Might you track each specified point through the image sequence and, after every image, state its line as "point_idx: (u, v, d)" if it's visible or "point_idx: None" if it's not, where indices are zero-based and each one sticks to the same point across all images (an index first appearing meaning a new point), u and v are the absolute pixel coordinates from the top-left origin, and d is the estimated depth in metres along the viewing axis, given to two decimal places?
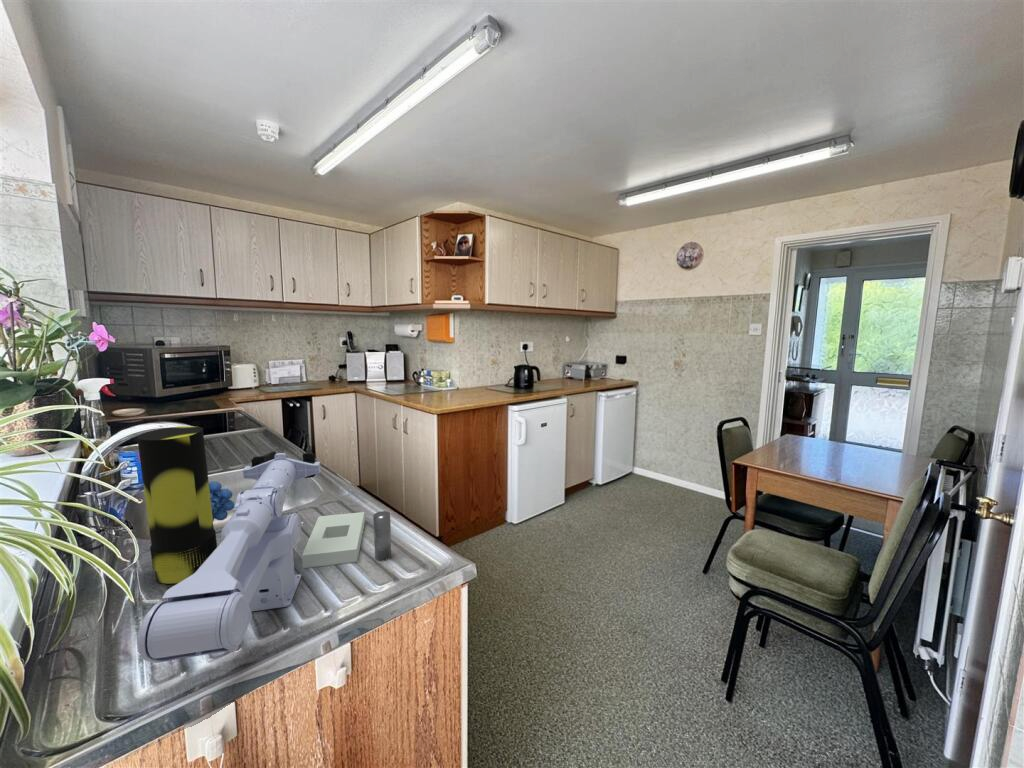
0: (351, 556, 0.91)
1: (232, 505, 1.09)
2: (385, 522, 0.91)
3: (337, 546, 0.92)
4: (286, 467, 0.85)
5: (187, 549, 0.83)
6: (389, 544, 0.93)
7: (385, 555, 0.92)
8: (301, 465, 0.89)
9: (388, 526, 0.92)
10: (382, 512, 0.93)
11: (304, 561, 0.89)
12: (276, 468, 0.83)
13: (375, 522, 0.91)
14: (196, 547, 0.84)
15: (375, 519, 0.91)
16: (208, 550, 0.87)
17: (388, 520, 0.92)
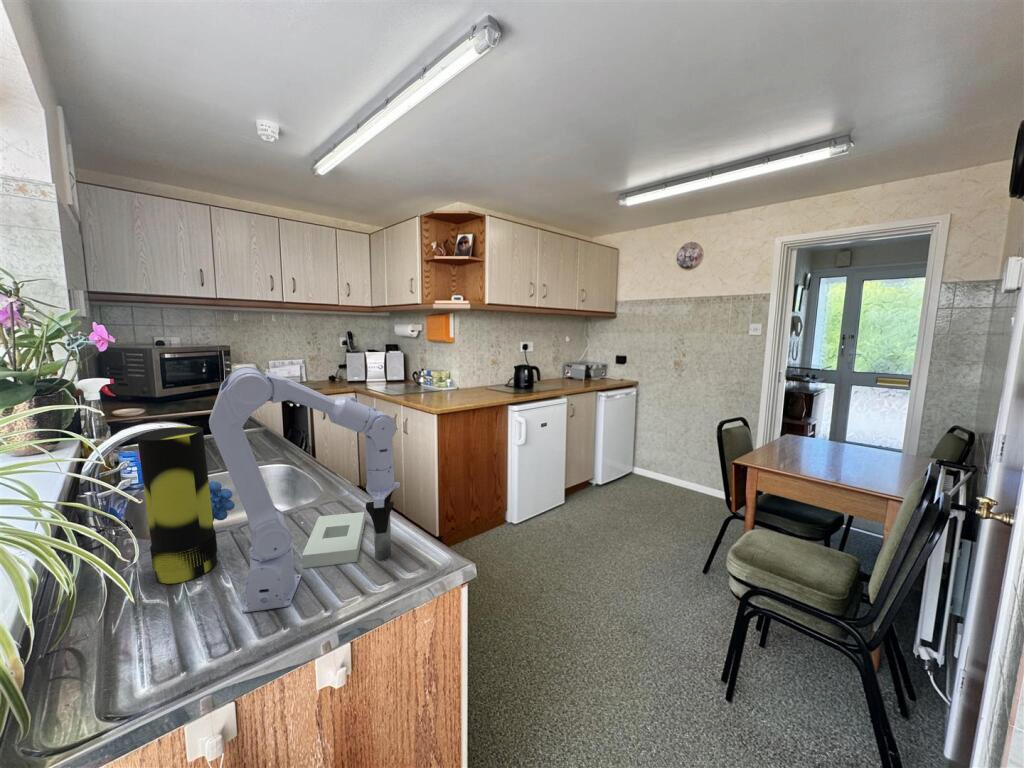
0: (351, 556, 0.91)
1: (232, 505, 1.09)
2: None
3: (337, 546, 0.92)
4: (390, 474, 0.89)
5: (187, 549, 0.83)
6: (389, 544, 0.93)
7: (385, 555, 0.92)
8: None
9: (388, 526, 0.92)
10: None
11: (304, 561, 0.89)
12: (393, 465, 0.91)
13: None
14: (196, 547, 0.84)
15: None
16: (208, 550, 0.87)
17: (388, 520, 0.92)
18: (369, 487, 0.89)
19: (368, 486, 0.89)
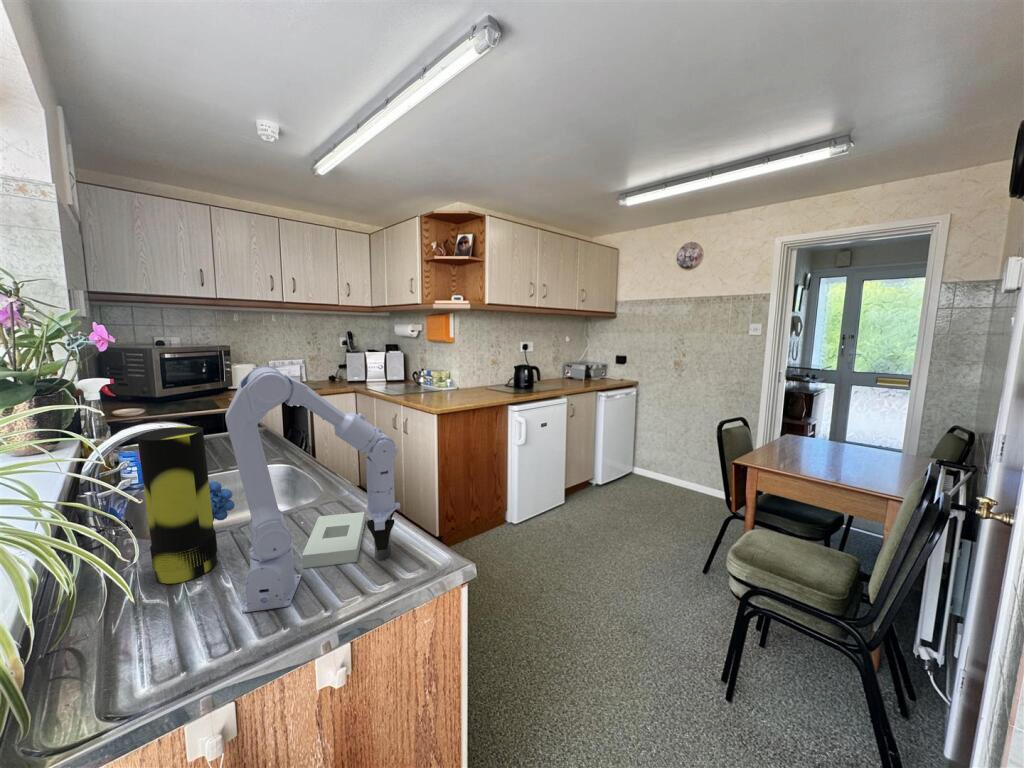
0: (351, 556, 0.91)
1: (232, 505, 1.09)
2: None
3: (337, 546, 0.92)
4: (390, 495, 0.90)
5: (187, 549, 0.83)
6: (389, 544, 0.93)
7: (385, 555, 0.92)
8: None
9: None
10: None
11: (304, 561, 0.89)
12: (393, 487, 0.92)
13: None
14: (196, 547, 0.84)
15: None
16: (208, 550, 0.87)
17: None
18: (370, 508, 0.90)
19: (369, 507, 0.90)
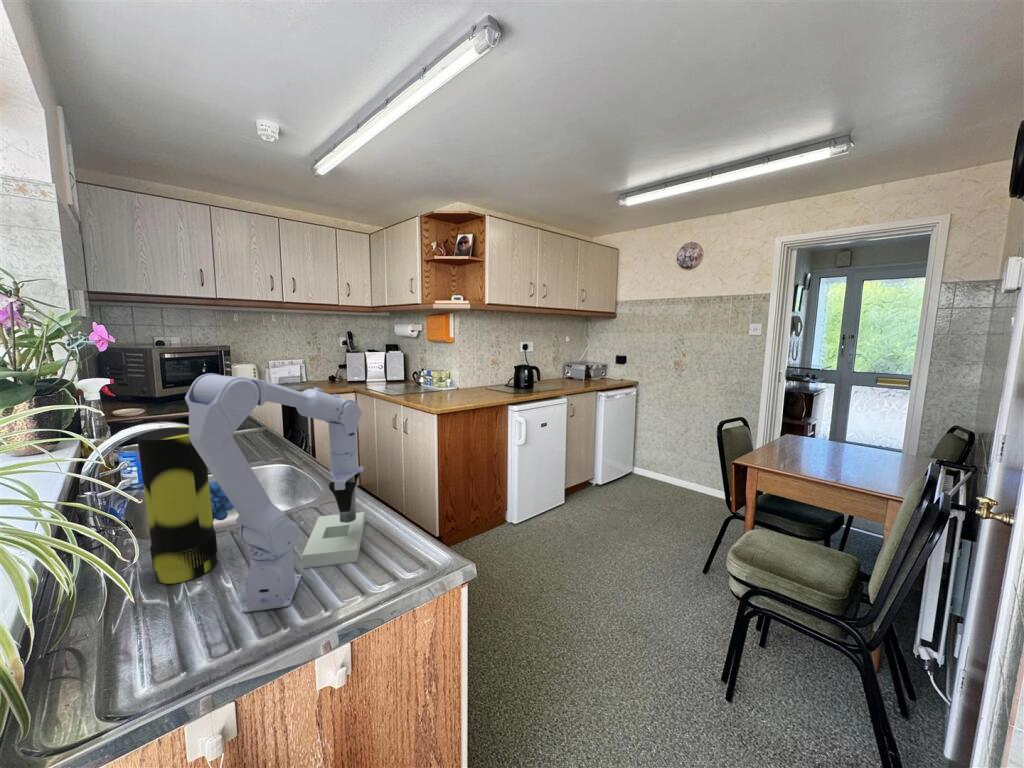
0: (351, 556, 0.91)
1: (232, 505, 1.09)
2: None
3: (337, 546, 0.92)
4: (353, 458, 0.93)
5: (187, 549, 0.83)
6: (353, 507, 0.95)
7: (348, 517, 0.95)
8: None
9: None
10: None
11: (304, 561, 0.89)
12: (356, 450, 0.94)
13: None
14: (196, 547, 0.84)
15: None
16: (208, 550, 0.87)
17: None
18: (332, 471, 0.92)
19: (331, 470, 0.92)
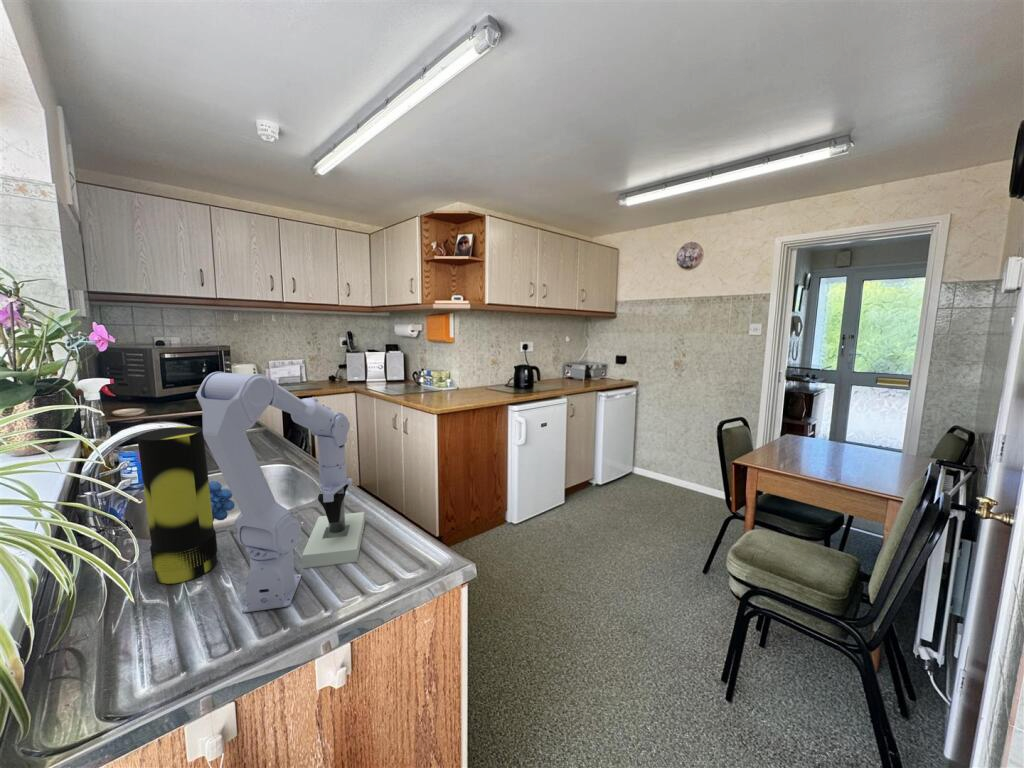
0: (351, 556, 0.91)
1: (232, 505, 1.09)
2: None
3: (337, 546, 0.92)
4: (341, 470, 0.95)
5: (187, 549, 0.83)
6: (342, 518, 0.97)
7: (337, 528, 0.97)
8: None
9: None
10: None
11: (304, 561, 0.89)
12: (345, 462, 0.96)
13: None
14: (196, 547, 0.84)
15: None
16: (208, 550, 0.87)
17: None
18: (321, 483, 0.94)
19: (320, 482, 0.94)
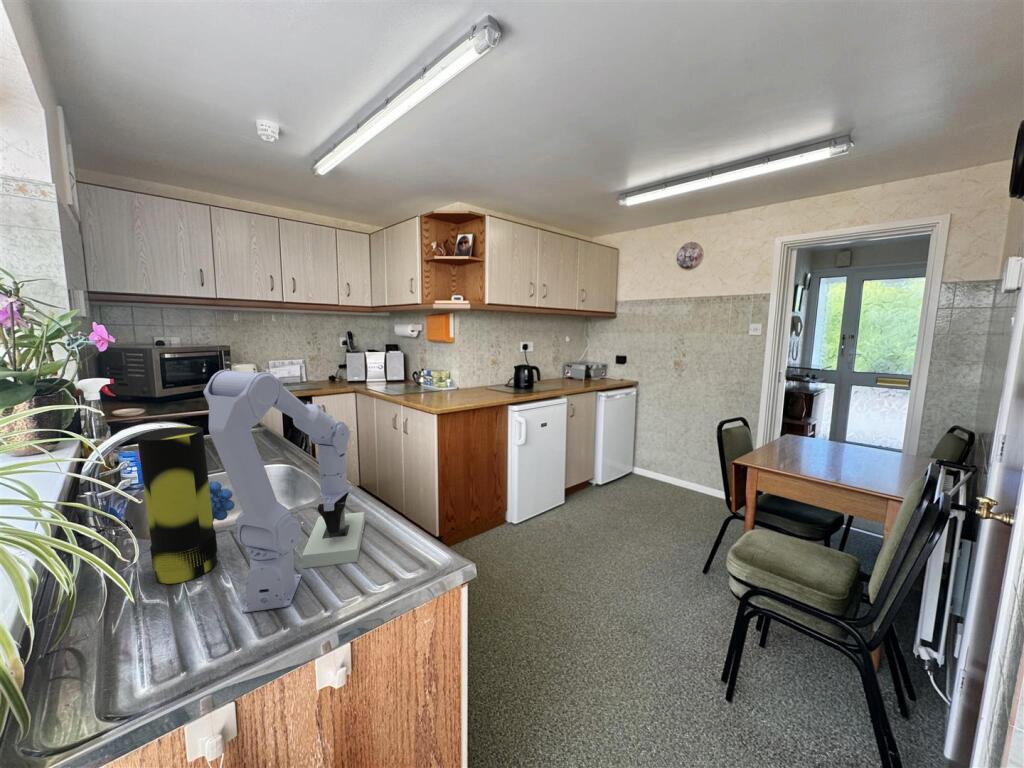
0: (351, 556, 0.91)
1: (232, 505, 1.09)
2: None
3: (337, 546, 0.92)
4: (342, 479, 0.95)
5: (187, 549, 0.83)
6: (342, 532, 0.98)
7: None
8: None
9: (341, 515, 0.97)
10: (337, 501, 0.98)
11: (304, 561, 0.89)
12: (345, 471, 0.96)
13: None
14: (196, 547, 0.84)
15: None
16: (208, 550, 0.87)
17: None
18: (322, 491, 0.94)
19: (321, 490, 0.95)
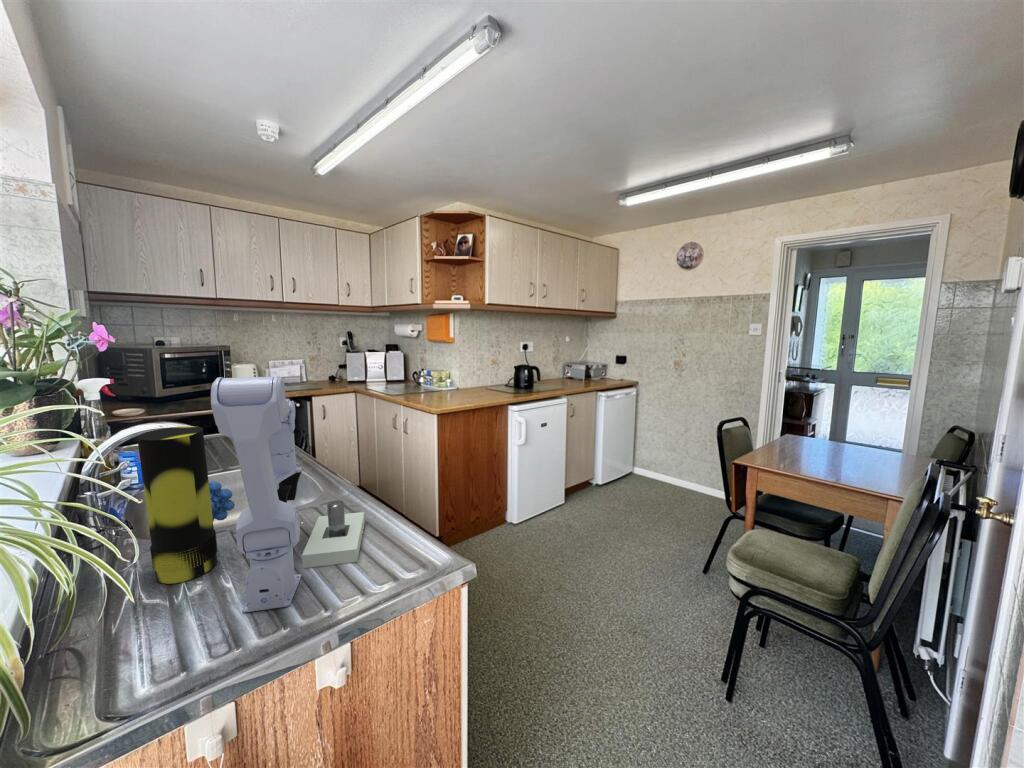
0: (351, 556, 0.91)
1: (232, 505, 1.09)
2: (337, 510, 0.96)
3: (337, 546, 0.92)
4: (289, 458, 0.93)
5: (187, 549, 0.83)
6: (342, 532, 0.98)
7: None
8: None
9: (341, 515, 0.97)
10: (337, 501, 0.98)
11: (304, 561, 0.89)
12: (293, 451, 0.94)
13: (328, 510, 0.96)
14: (196, 547, 0.84)
15: (328, 507, 0.96)
16: (208, 550, 0.87)
17: (341, 509, 0.97)
18: None
19: None
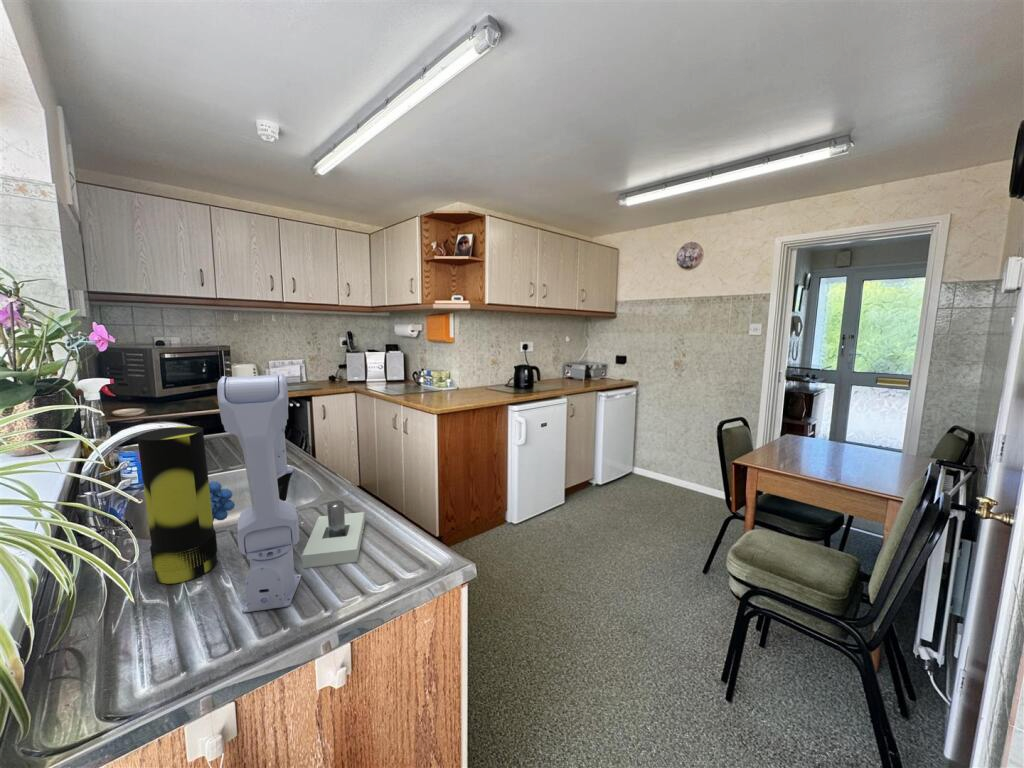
0: (351, 556, 0.91)
1: (232, 505, 1.09)
2: (337, 510, 0.96)
3: (337, 546, 0.92)
4: (280, 459, 0.93)
5: (187, 549, 0.83)
6: (342, 532, 0.98)
7: None
8: None
9: (341, 515, 0.97)
10: (337, 501, 0.98)
11: (304, 561, 0.89)
12: (284, 451, 0.94)
13: (328, 510, 0.96)
14: (196, 547, 0.84)
15: (328, 507, 0.96)
16: (208, 550, 0.87)
17: (341, 509, 0.97)
18: None
19: None
